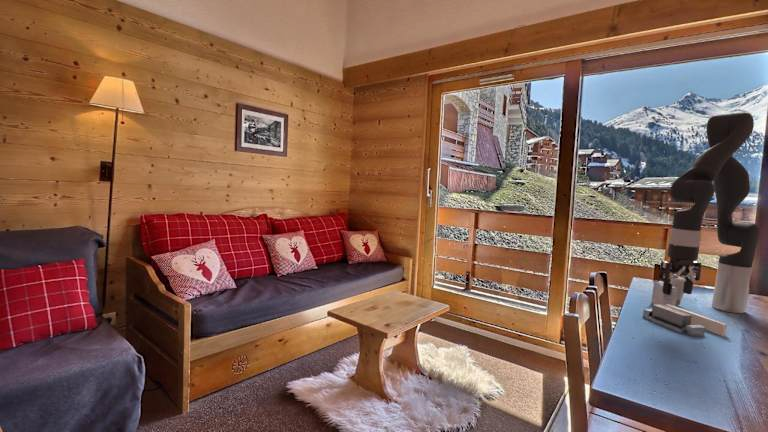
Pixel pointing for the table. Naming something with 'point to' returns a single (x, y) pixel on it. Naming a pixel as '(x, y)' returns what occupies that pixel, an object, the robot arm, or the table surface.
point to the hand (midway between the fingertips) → (676, 293)
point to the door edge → (704, 322)
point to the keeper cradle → (690, 329)
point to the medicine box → (663, 295)
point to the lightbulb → (679, 288)
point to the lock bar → (671, 316)
